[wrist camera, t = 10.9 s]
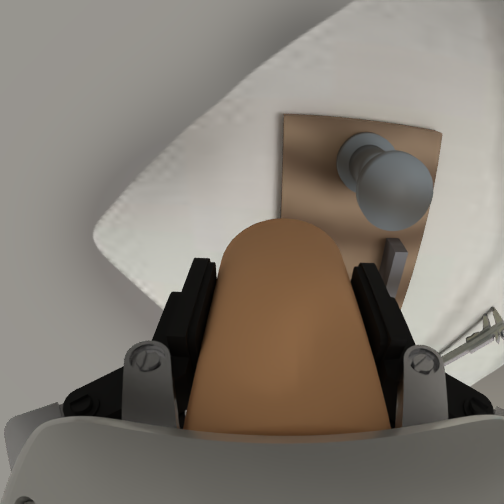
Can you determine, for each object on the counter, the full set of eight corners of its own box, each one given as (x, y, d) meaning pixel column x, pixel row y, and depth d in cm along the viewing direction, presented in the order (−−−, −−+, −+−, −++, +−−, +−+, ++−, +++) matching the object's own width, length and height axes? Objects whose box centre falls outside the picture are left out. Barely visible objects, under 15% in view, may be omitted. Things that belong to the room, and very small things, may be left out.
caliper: (492, 304, 39) (510, 330, 33) (494, 307, 39) (511, 333, 34) (399, 379, 48) (408, 408, 42) (402, 381, 48) (411, 409, 42)
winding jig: (283, 113, 28) (290, 129, 19) (435, 130, 27) (490, 156, 19) (276, 307, 40) (276, 369, 31) (395, 306, 39) (418, 363, 30)
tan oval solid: (217, 216, 12) (153, 413, 5) (352, 220, 11) (431, 412, 5) (223, 318, 14) (194, 490, 7) (333, 321, 14) (360, 490, 7)
